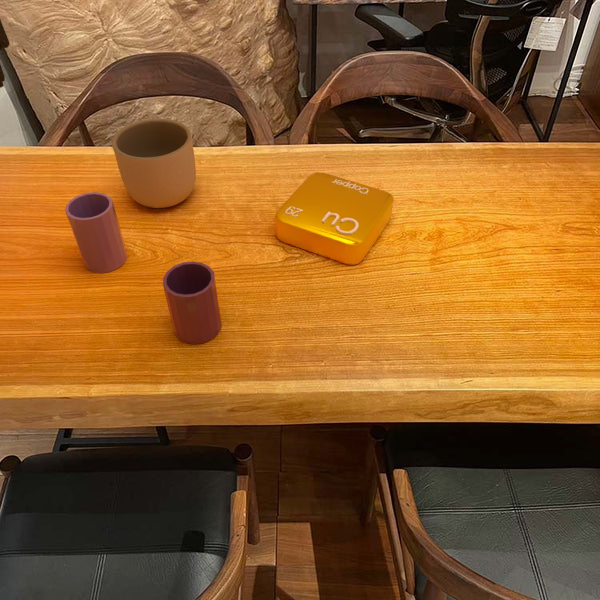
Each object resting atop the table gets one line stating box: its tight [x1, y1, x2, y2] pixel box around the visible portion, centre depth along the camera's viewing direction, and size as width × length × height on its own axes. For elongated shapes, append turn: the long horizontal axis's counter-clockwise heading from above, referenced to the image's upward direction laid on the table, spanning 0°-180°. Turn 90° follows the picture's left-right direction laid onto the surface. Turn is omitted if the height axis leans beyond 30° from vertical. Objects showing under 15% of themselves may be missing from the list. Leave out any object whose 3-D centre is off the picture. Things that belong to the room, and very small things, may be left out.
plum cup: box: [162, 261, 222, 345], centre depth 77 cm, size 6×6×9 cm
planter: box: [111, 117, 197, 209], centre depth 97 cm, size 12×12×11 cm
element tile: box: [274, 171, 394, 266], centre depth 93 cm, size 15×15×5 cm
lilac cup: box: [64, 191, 128, 274], centre depth 86 cm, size 6×6×10 cm
